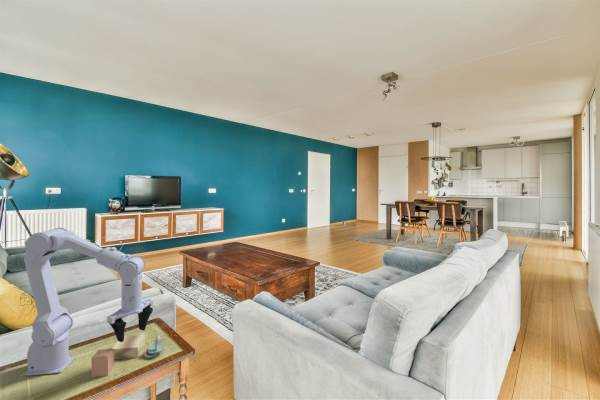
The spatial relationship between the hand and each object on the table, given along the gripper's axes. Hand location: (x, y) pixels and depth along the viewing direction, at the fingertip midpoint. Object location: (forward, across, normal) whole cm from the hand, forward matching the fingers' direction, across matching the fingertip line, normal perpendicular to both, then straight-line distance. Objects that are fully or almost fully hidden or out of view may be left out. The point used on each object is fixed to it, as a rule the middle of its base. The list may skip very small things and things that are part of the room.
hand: (131, 335), depth 93 cm
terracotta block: (+10, -6, +4) cm, 12 cm away
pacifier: (+10, +7, -2) cm, 12 cm away
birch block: (+10, +4, +6) cm, 12 cm away
